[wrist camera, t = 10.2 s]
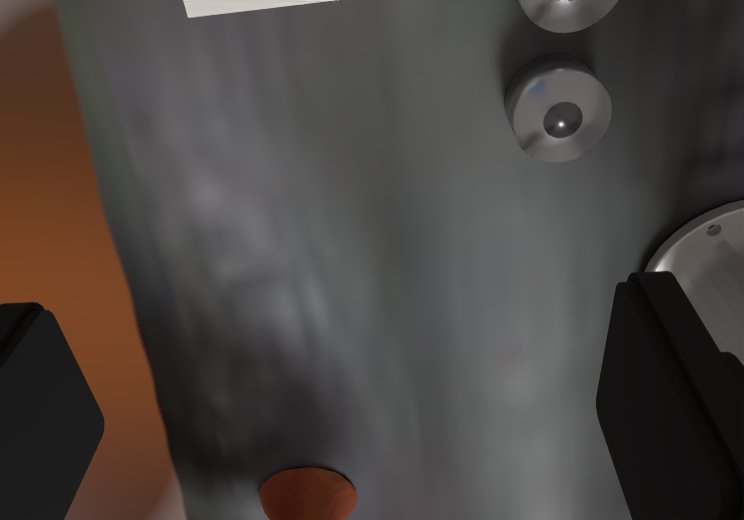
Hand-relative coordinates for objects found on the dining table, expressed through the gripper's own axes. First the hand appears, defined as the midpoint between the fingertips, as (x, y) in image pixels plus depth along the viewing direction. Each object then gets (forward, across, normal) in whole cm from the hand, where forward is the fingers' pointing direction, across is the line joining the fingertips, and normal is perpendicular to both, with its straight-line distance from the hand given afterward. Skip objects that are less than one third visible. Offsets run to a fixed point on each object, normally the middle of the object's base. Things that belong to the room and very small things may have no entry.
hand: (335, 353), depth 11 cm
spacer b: (+26, -9, +6) cm, 29 cm away
